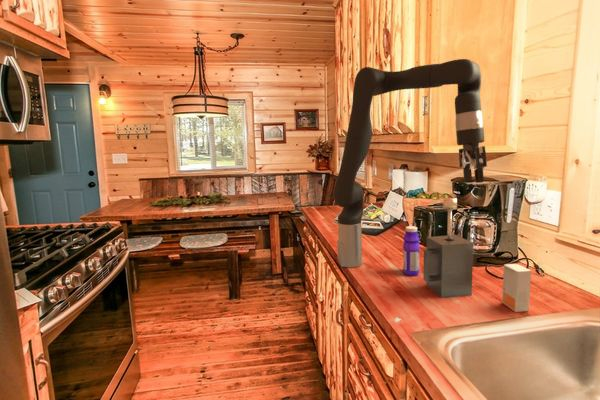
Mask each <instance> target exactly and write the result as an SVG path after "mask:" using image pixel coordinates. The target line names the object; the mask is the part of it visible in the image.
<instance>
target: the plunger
mask: <svg viewBox="0 0 600 400" xmlns="http://www.w3.org/2000/svg"><path fill="white" fill-rule="evenodd" d="M442 201H443V202H442V208H443V209H445V210H447V231H446V233H447V234H446V236H447V241H451V235H452V229H453V227H452V226H453V225H452V223H453V210H457V209H458V198H456V197H444V198H443V200H442Z"/></svg>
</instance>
